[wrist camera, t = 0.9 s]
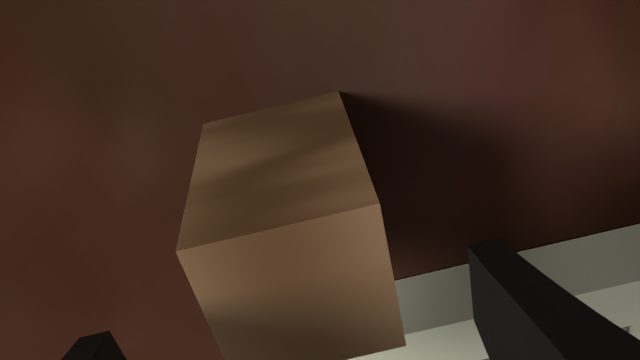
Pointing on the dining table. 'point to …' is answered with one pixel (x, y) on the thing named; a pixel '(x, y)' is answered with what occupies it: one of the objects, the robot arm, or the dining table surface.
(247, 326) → the walnut block
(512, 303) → the robot arm
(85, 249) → the dining table surface
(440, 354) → the board
